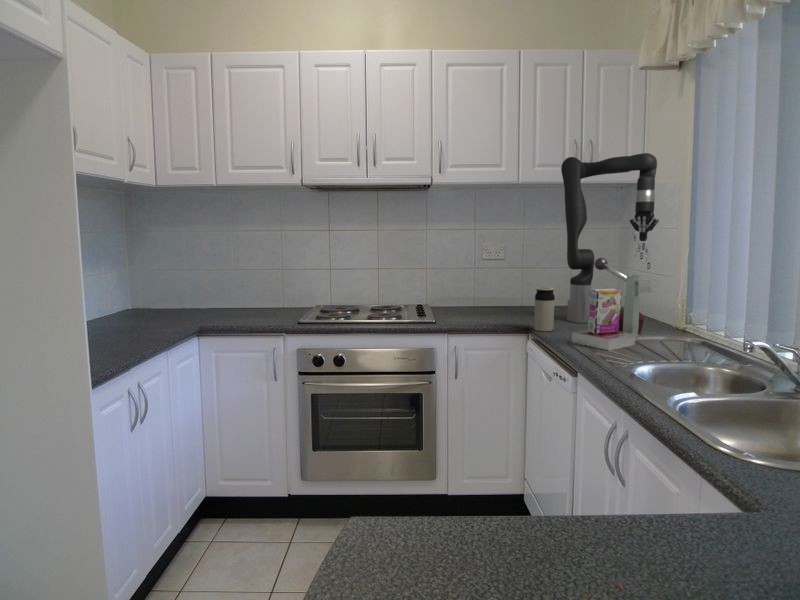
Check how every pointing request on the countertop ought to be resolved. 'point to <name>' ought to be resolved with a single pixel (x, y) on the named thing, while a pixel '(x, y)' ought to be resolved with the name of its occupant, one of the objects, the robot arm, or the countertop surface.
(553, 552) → the countertop surface
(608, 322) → the candy bar box
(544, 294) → the travel mug
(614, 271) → the press lever
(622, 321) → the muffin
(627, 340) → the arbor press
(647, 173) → the robot arm
